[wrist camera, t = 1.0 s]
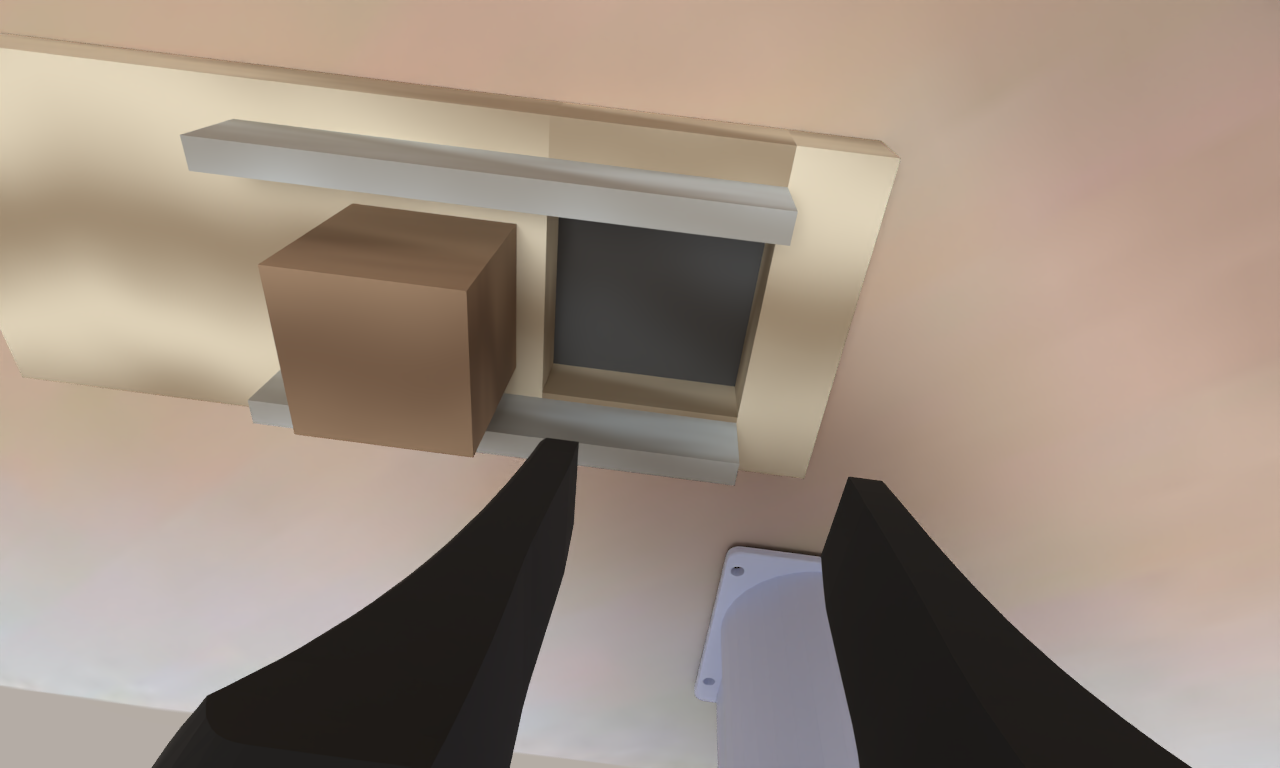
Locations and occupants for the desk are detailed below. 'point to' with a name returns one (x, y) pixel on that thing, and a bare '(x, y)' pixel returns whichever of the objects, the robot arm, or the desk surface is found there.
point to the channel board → (448, 185)
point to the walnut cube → (395, 327)
